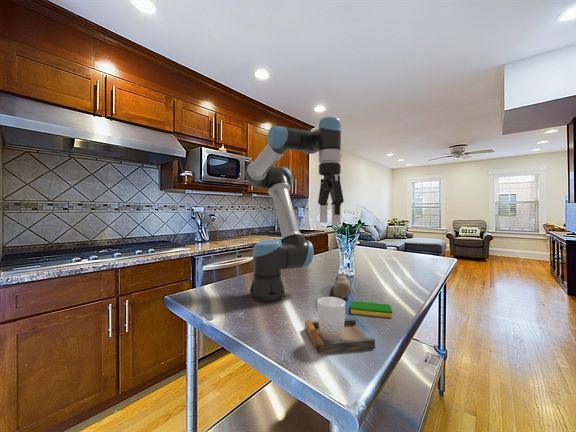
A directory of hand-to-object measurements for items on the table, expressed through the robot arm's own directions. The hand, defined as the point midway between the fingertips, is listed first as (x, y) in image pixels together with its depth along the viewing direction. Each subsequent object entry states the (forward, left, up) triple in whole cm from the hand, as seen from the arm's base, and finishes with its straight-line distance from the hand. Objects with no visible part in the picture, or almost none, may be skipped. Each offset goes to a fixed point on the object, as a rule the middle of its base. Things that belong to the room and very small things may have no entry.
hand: (329, 223), depth 91 cm
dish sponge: (+14, +6, -32) cm, 36 cm away
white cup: (+4, -18, -31) cm, 36 cm away
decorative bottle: (+2, +27, -32) cm, 42 cm away
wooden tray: (+6, -17, -32) cm, 36 cm away
